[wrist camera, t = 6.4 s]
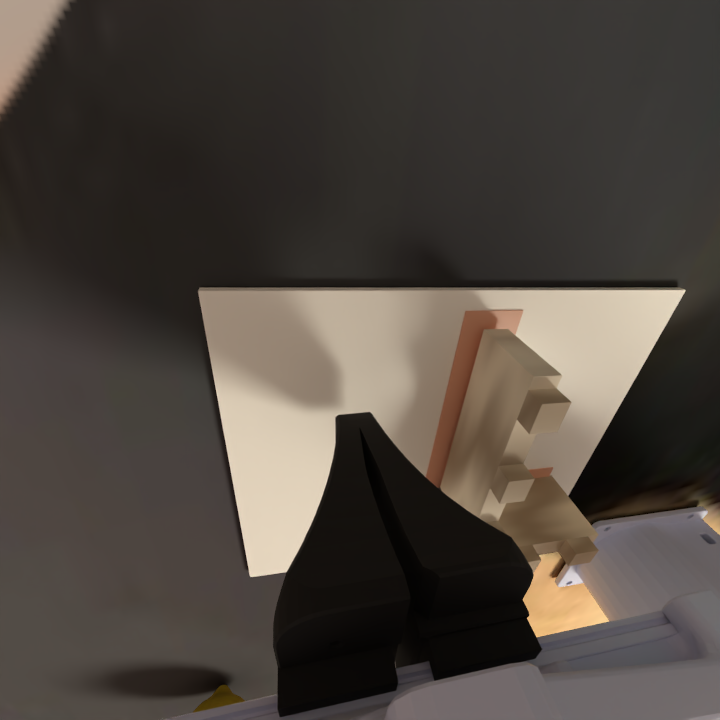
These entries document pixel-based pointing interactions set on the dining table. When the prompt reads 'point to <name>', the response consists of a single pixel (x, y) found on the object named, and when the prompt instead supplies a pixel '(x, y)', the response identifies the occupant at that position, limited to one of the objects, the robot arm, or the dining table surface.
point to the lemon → (219, 699)
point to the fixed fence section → (549, 525)
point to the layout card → (400, 381)
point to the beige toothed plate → (501, 425)
